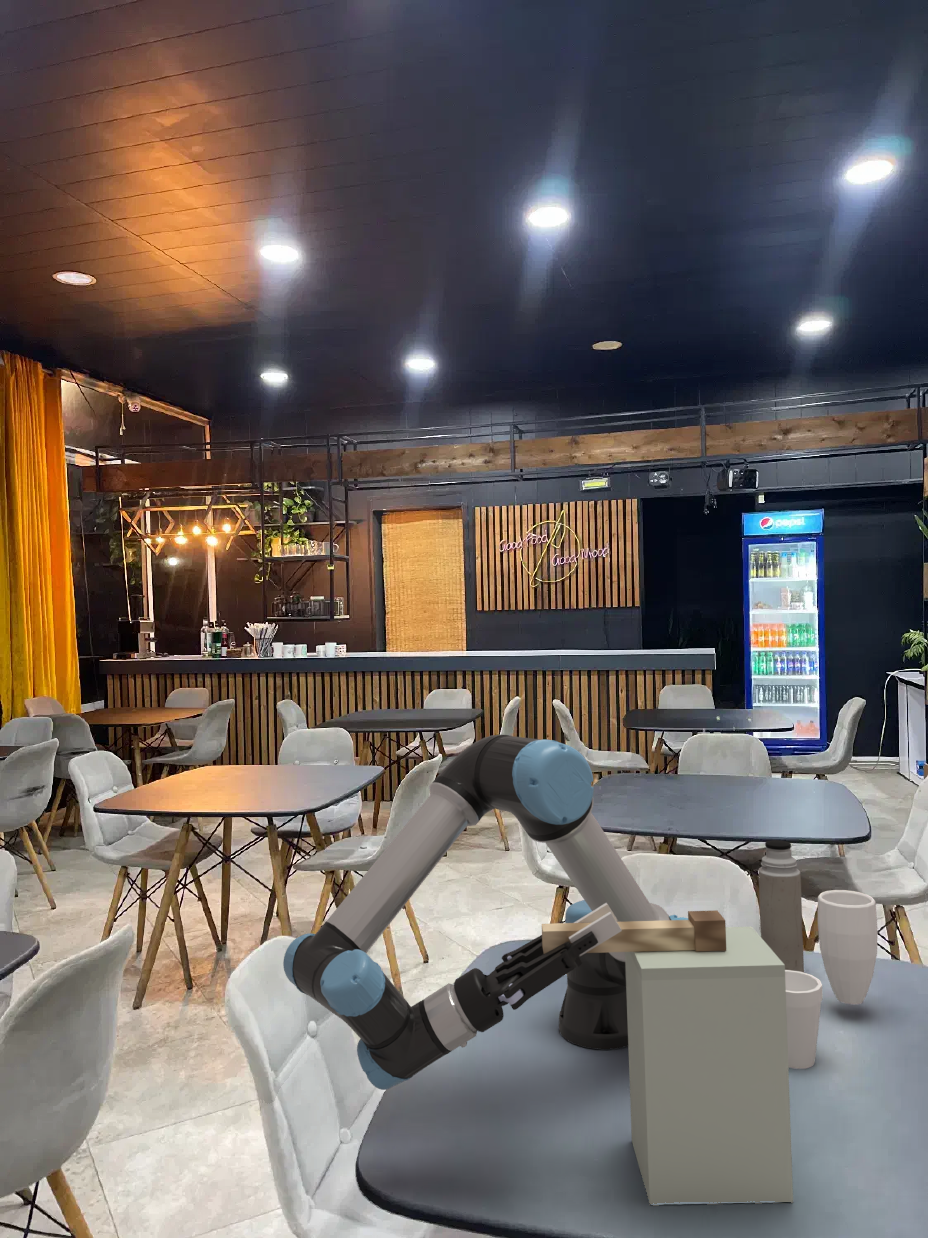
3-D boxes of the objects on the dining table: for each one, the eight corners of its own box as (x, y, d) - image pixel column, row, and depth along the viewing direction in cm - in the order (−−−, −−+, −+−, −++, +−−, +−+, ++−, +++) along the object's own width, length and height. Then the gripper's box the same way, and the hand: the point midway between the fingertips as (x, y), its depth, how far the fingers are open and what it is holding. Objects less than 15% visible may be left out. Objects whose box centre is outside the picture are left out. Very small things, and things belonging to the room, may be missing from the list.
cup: (852, 1033, 156) (847, 910, 156) (807, 1010, 166) (803, 894, 166) (895, 1020, 161) (890, 901, 161) (849, 999, 170) (845, 886, 170)
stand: (649, 1205, 113) (641, 968, 113) (631, 1141, 127) (624, 930, 127) (793, 1203, 112) (784, 965, 112) (759, 1138, 126) (751, 926, 126)
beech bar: (718, 939, 121) (717, 910, 121) (726, 950, 117) (725, 920, 117) (542, 944, 122) (541, 915, 122) (544, 955, 118) (542, 925, 118)
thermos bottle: (796, 973, 183) (791, 836, 183) (810, 989, 175) (805, 846, 175) (757, 974, 183) (752, 838, 183) (769, 990, 175) (764, 848, 175)
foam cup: (829, 1076, 143) (826, 994, 143) (768, 1072, 144) (766, 991, 144) (818, 1047, 152) (815, 971, 152) (761, 1044, 154) (758, 968, 154)
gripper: (481, 1005, 128) (619, 920, 128) (480, 1061, 112) (639, 963, 112) (453, 961, 128) (592, 875, 128) (448, 1010, 112) (607, 912, 112)
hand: (613, 916), depth 120 cm, fingers closed on beech bar, 3 cm apart
